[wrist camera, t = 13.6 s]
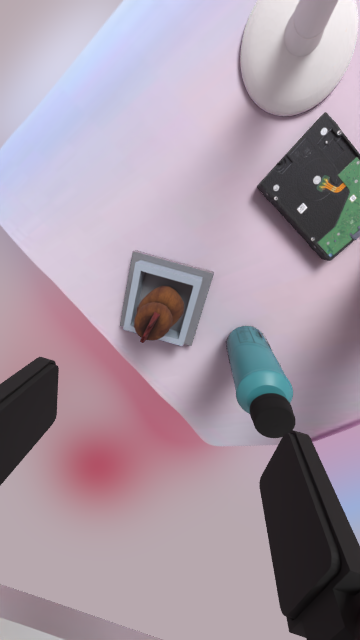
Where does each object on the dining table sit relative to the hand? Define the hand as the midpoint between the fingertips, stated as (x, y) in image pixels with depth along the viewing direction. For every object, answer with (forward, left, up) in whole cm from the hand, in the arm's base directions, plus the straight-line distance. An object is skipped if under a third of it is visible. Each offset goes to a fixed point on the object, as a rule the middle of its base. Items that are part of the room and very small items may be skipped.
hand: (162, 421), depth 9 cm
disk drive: (-13, -16, -32) cm, 38 cm away
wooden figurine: (+4, +5, -30) cm, 30 cm away
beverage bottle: (-11, +8, -31) cm, 34 cm away
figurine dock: (+4, +5, -31) cm, 32 cm away
